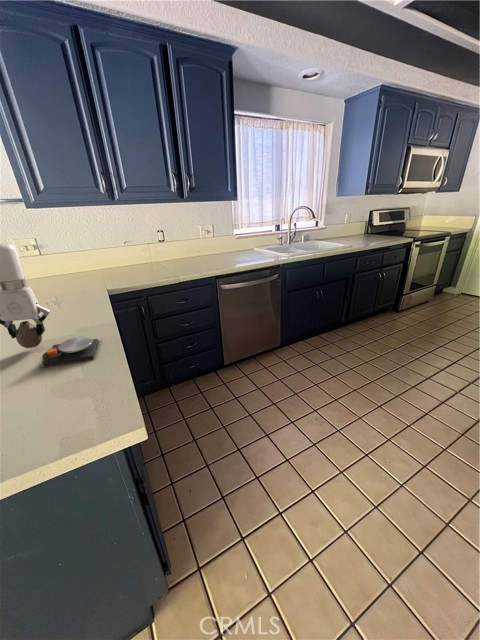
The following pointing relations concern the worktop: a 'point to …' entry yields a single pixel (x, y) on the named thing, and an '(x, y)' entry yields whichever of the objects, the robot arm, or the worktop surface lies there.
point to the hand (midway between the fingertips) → (28, 334)
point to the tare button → (52, 352)
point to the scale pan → (75, 344)
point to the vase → (28, 335)
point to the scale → (70, 355)
